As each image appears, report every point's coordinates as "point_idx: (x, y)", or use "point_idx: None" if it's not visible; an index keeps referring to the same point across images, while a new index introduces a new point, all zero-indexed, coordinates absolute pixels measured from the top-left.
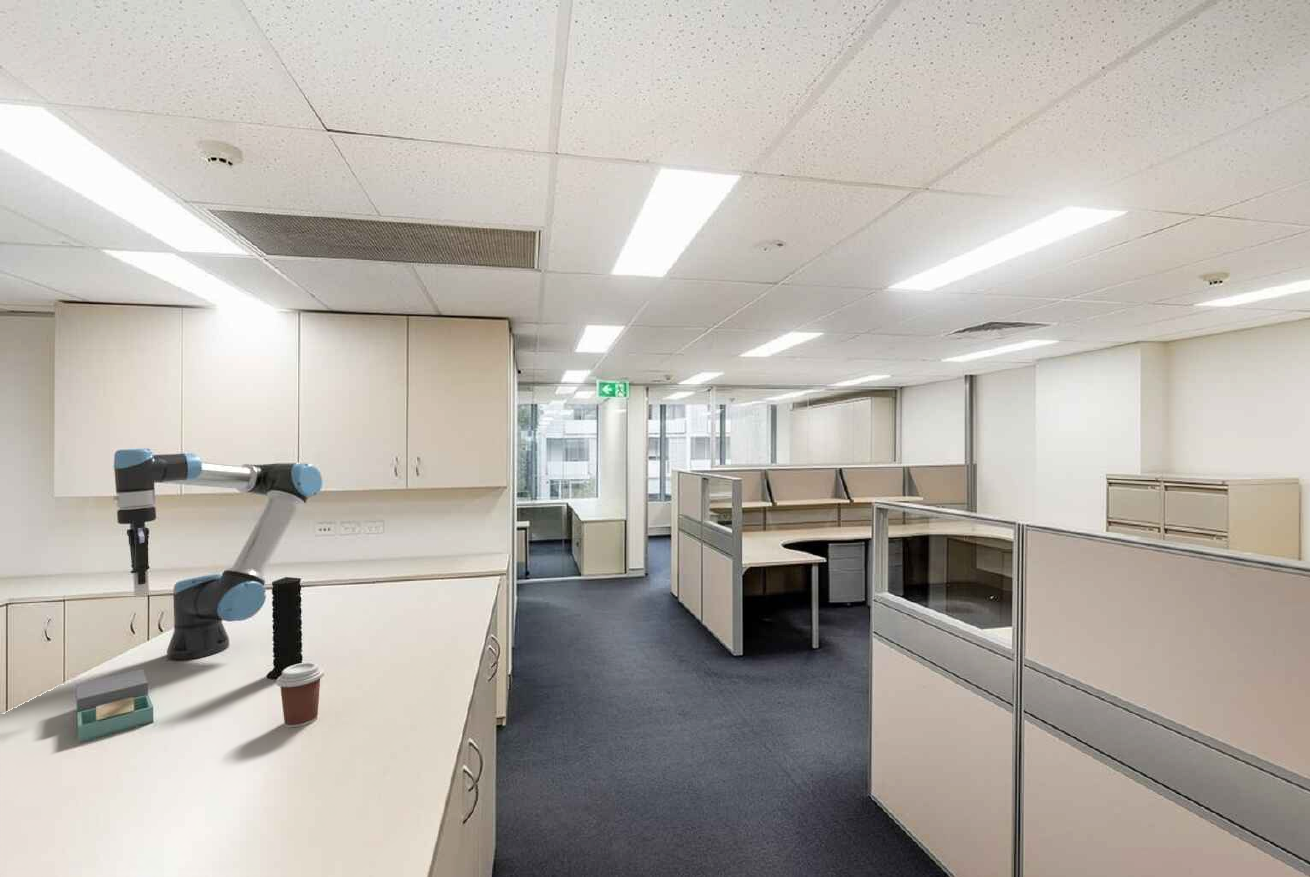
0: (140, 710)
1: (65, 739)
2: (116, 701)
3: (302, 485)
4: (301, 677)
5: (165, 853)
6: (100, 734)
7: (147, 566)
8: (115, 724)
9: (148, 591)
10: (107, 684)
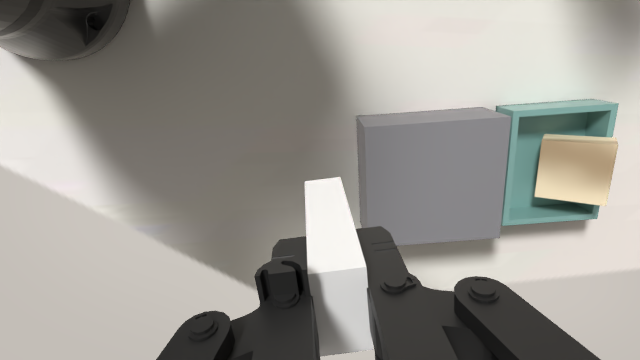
0: (613, 125)
1: (530, 224)
2: (611, 173)
3: None
4: None
5: None
6: None
7: (521, 304)
8: None
9: (342, 186)
10: (435, 193)
